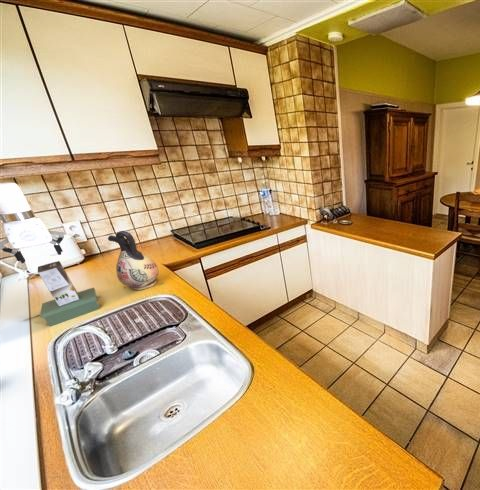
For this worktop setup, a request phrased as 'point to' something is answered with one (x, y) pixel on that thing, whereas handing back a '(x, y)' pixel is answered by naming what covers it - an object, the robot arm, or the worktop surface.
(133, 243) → the ceramic jug
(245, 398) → the worktop surface
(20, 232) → the robot arm
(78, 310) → the green block
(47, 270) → the coffee box
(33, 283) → the worktop surface
